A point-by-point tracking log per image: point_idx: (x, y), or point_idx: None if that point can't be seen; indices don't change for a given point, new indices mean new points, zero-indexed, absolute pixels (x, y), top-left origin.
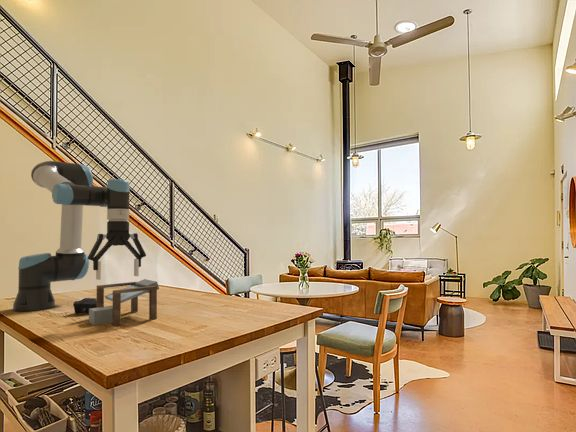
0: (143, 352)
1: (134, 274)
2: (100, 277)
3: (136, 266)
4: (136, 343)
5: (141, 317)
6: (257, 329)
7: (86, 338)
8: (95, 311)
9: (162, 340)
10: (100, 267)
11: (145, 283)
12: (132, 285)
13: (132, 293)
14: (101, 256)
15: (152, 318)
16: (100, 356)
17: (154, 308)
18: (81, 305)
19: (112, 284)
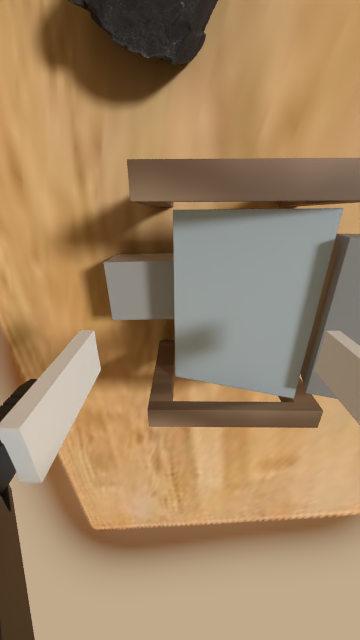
0: (146, 503)
1: (328, 343)
2: (96, 377)
3: (357, 417)
4: (152, 472)
5: None
6: (322, 515)
7: (90, 404)
8: (116, 319)
9: (189, 481)
10: (67, 431)
11: None
12: (338, 209)
13: (239, 362)
14: (16, 545)
15: None
16: (96, 487)
17: None
18: (100, 22)
19: (224, 189)
